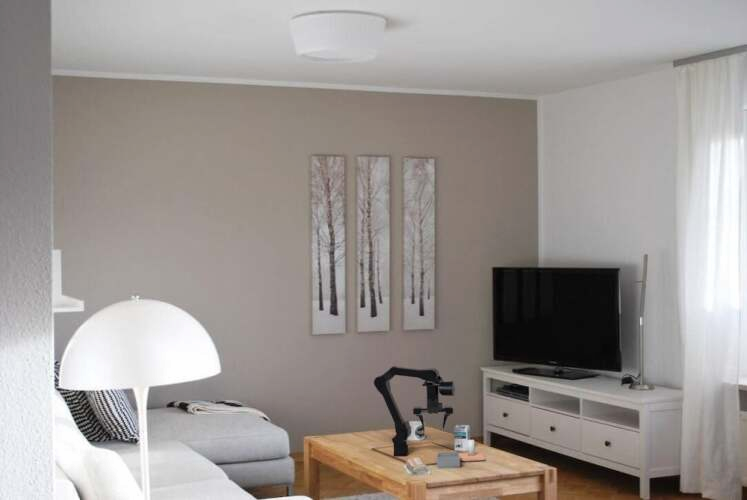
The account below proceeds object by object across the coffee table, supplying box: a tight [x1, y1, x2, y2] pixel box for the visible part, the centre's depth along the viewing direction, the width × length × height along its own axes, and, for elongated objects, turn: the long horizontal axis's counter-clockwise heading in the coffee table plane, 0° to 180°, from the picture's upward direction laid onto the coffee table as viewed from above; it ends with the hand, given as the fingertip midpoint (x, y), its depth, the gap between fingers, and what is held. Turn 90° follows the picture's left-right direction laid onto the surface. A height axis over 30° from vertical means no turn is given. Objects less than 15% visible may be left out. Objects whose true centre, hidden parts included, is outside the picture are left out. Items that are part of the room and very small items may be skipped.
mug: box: [406, 420, 426, 442], centre depth 506 cm, size 13×10×8 cm
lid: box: [459, 439, 486, 463], centre depth 455 cm, size 10×10×9 cm
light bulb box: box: [453, 424, 471, 452], centre depth 480 cm, size 11×7×11 cm, turn 168°
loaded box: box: [436, 451, 461, 469], centre depth 444 cm, size 10×10×5 cm
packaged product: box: [402, 456, 431, 477], centre depth 435 cm, size 18×5×10 cm
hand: (433, 428), depth 464 cm, fingers open, 9 cm apart
